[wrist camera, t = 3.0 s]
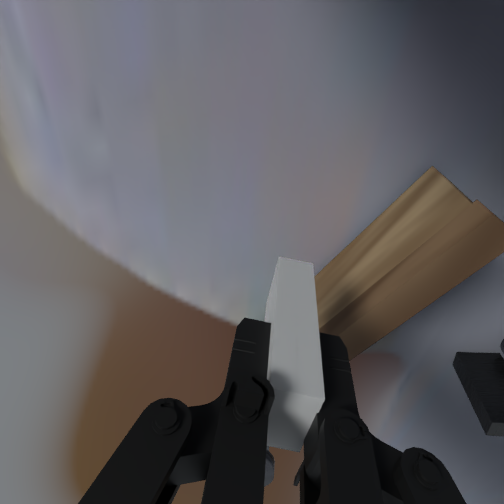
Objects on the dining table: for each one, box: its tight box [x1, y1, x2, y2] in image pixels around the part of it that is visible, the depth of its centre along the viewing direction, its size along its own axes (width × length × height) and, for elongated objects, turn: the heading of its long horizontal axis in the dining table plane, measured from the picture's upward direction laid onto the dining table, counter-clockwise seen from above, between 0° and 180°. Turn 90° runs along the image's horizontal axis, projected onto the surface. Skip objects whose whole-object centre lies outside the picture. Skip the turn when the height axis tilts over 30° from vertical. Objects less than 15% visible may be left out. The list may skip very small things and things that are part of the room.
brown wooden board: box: [314, 166, 504, 361], centre depth 21 cm, size 2×17×7 cm, turn 145°
